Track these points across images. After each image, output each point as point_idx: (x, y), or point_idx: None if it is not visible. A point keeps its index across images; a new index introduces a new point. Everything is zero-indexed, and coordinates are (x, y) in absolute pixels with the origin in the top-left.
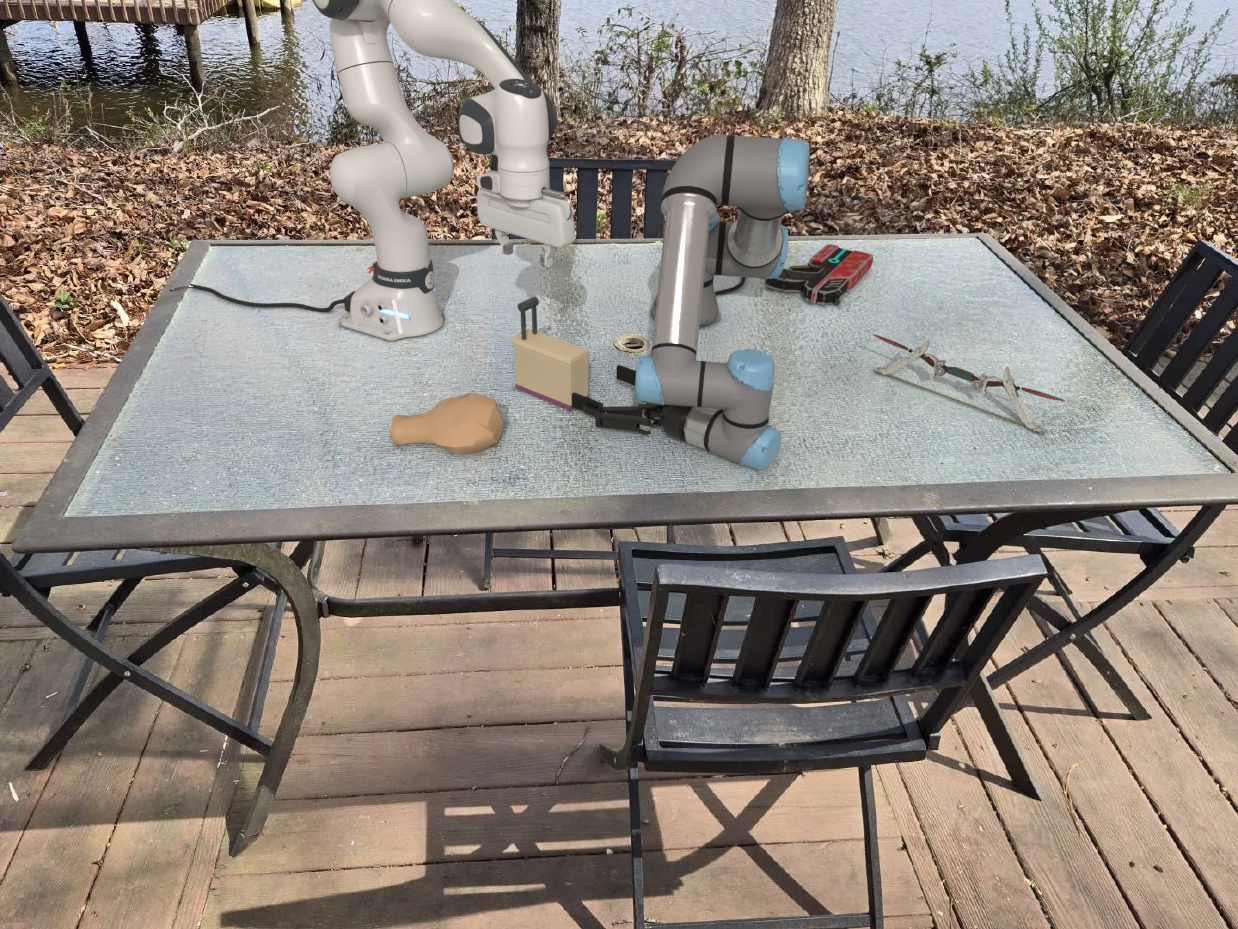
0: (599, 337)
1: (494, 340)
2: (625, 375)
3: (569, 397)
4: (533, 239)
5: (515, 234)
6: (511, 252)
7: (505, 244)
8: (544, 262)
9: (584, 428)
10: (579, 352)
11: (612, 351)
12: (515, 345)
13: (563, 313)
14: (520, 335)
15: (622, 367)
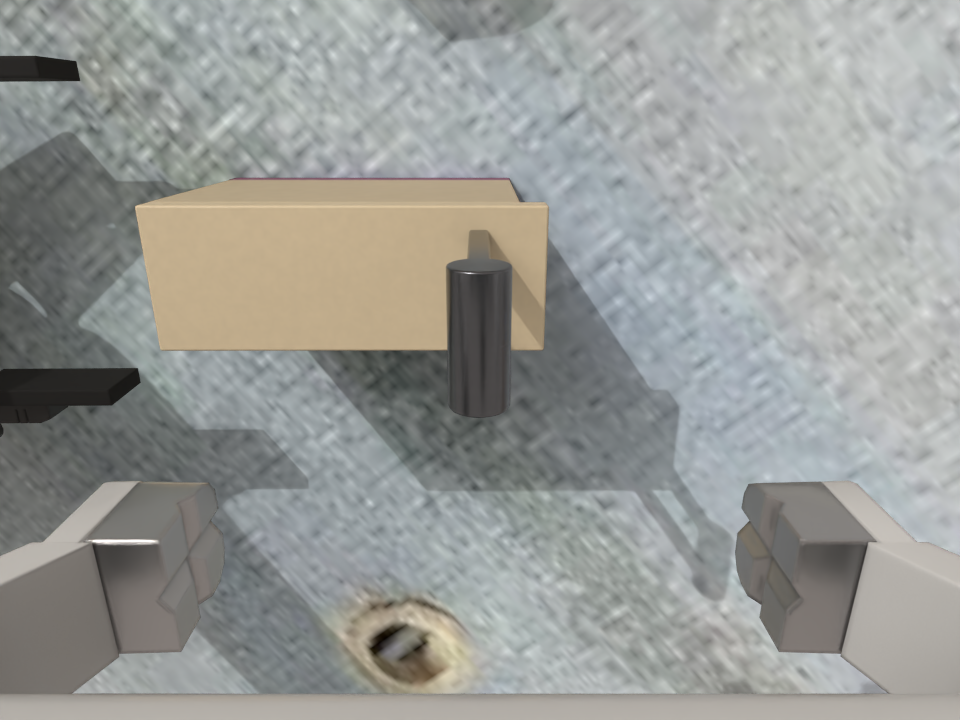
0: (521, 627)
1: (817, 412)
2: (77, 379)
3: (222, 183)
4: (40, 703)
5: (606, 698)
6: (743, 548)
7: (860, 581)
8: (114, 502)
9: (103, 104)
10: (166, 299)
11: (423, 582)
12: (509, 200)
13: (726, 684)
14: (522, 260)
15: (82, 395)
